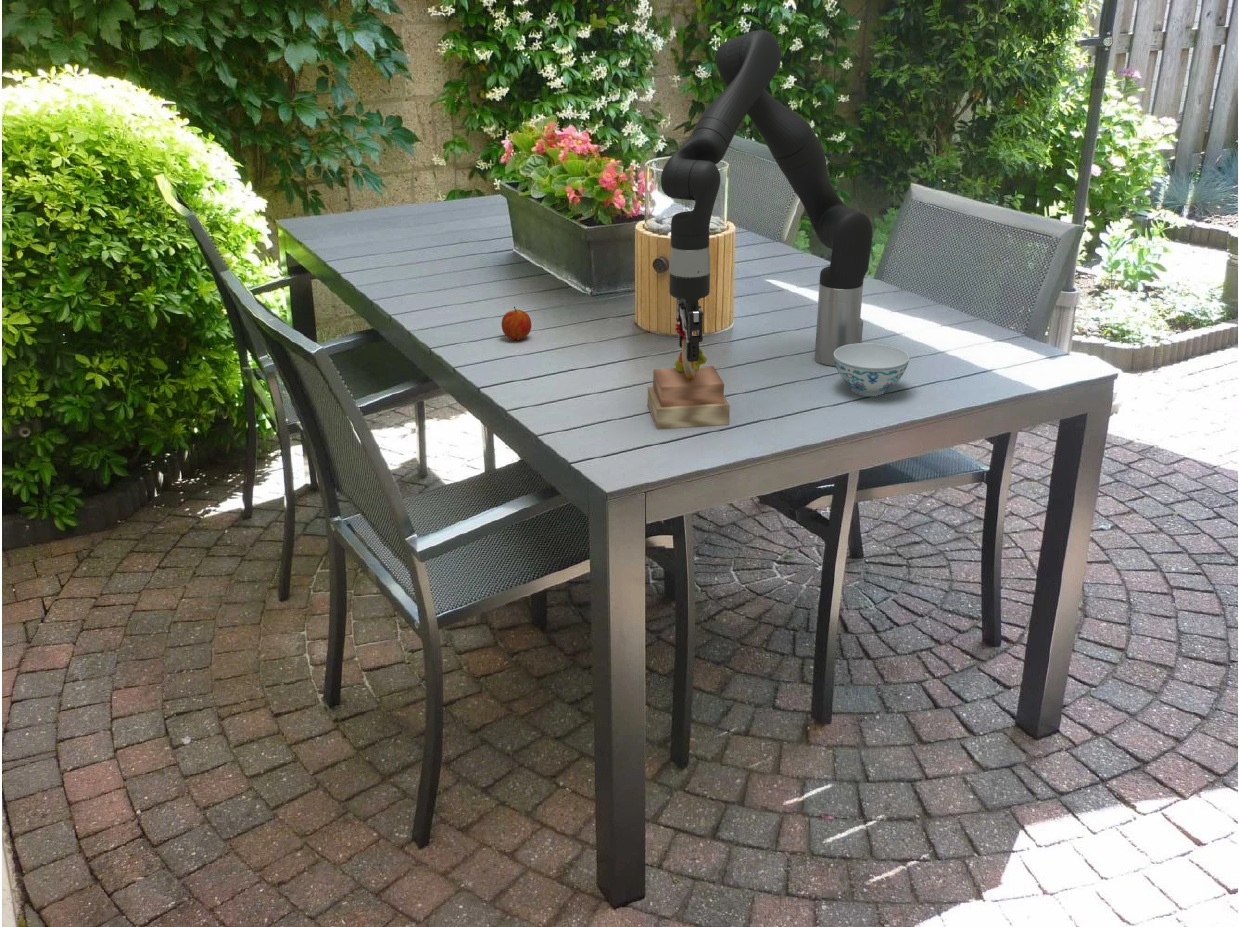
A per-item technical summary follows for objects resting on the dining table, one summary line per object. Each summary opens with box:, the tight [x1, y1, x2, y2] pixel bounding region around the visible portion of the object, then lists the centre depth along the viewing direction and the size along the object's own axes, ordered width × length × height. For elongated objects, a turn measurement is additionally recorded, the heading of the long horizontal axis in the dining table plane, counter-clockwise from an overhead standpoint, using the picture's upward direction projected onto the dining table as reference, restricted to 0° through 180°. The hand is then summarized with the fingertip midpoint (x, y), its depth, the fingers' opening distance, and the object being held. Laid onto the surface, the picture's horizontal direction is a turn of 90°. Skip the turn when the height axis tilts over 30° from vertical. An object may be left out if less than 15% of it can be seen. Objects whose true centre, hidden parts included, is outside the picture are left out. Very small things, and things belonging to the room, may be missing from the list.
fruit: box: [501, 306, 532, 340], centre depth 259 cm, size 7×7×8 cm
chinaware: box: [834, 342, 910, 397], centre depth 227 cm, size 15×15×8 cm
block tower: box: [647, 365, 731, 430], centre depth 216 cm, size 14×12×8 cm
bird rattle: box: [674, 323, 708, 379], centre depth 213 cm, size 6×11×9 cm
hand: (688, 353), depth 212 cm, fingers closed on bird rattle, 7 cm apart
